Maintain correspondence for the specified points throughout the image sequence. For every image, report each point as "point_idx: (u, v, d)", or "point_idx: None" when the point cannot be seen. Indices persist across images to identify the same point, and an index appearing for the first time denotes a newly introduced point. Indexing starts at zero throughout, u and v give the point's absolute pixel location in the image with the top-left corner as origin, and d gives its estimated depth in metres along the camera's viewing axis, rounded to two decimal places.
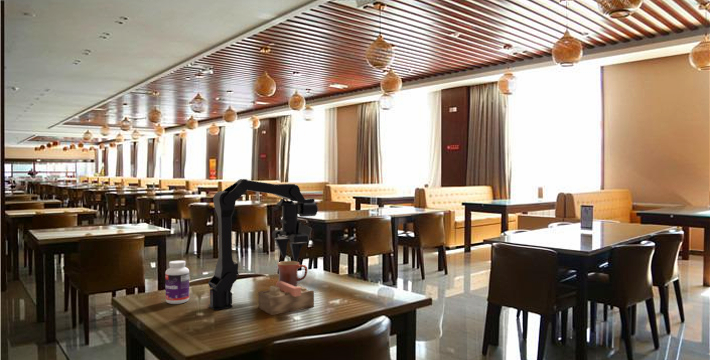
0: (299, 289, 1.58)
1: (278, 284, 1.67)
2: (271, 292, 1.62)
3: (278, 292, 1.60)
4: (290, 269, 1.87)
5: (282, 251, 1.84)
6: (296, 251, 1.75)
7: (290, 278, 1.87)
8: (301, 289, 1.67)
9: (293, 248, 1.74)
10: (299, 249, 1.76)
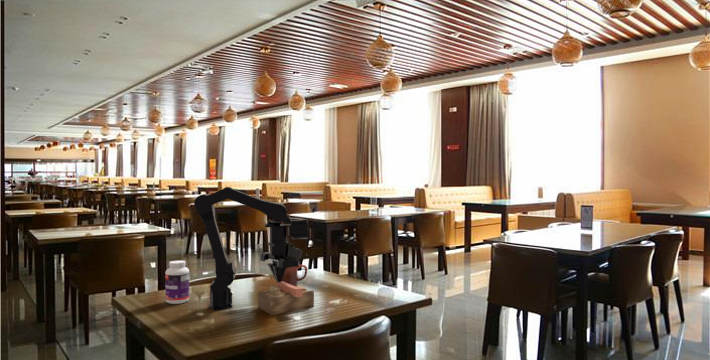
0: (301, 290, 1.57)
1: (279, 285, 1.66)
2: (271, 292, 1.62)
3: (278, 292, 1.60)
4: (290, 269, 1.87)
5: None
6: (279, 274, 1.67)
7: (290, 278, 1.87)
8: None
9: (276, 271, 1.66)
10: (283, 272, 1.68)
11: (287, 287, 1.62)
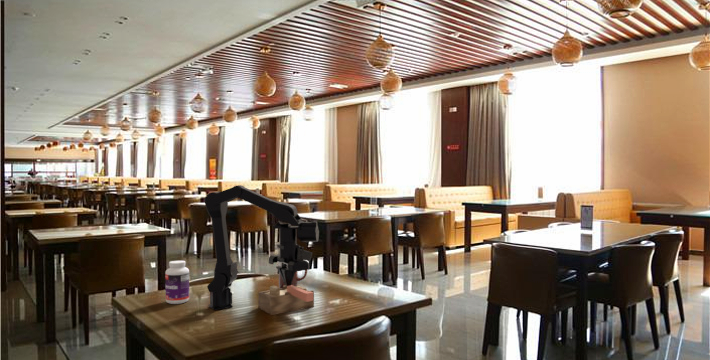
0: (311, 294, 1.52)
1: (289, 288, 1.61)
2: (271, 292, 1.62)
3: (278, 292, 1.60)
4: None
5: None
6: (289, 277, 1.62)
7: None
8: None
9: (285, 274, 1.60)
10: (292, 275, 1.62)
11: (297, 291, 1.56)
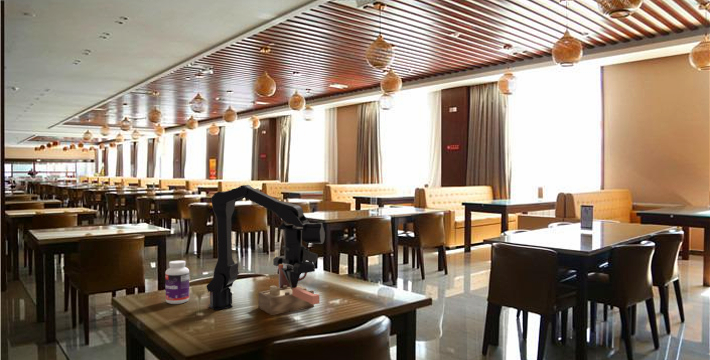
0: (317, 296, 1.48)
1: (294, 291, 1.58)
2: (271, 292, 1.62)
3: (278, 292, 1.60)
4: None
5: None
6: (294, 280, 1.59)
7: None
8: None
9: (291, 277, 1.57)
10: (297, 277, 1.59)
11: (303, 293, 1.53)
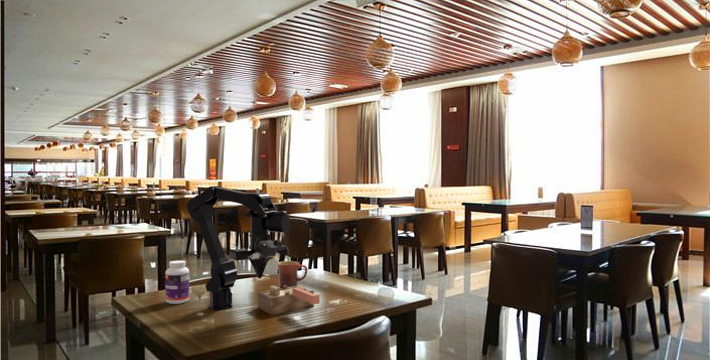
0: (317, 296, 1.48)
1: (294, 291, 1.58)
2: (271, 292, 1.62)
3: (278, 292, 1.60)
4: (290, 269, 1.87)
5: None
6: (255, 267, 1.58)
7: (290, 278, 1.87)
8: None
9: (251, 263, 1.59)
10: (256, 266, 1.57)
11: (303, 293, 1.53)
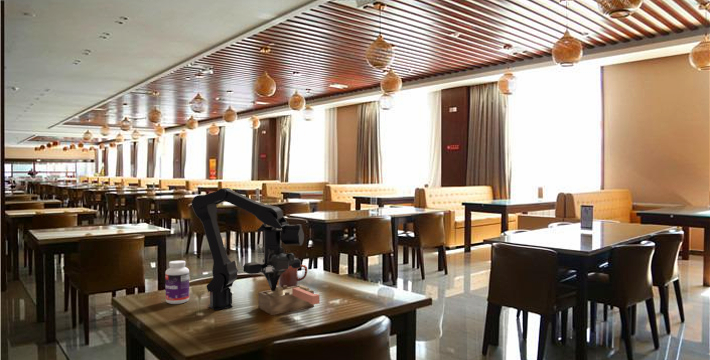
0: (317, 296, 1.48)
1: (294, 291, 1.58)
2: (274, 292, 1.63)
3: (281, 292, 1.61)
4: (290, 269, 1.87)
5: None
6: (268, 280, 1.61)
7: (290, 278, 1.87)
8: (304, 289, 1.67)
9: (265, 276, 1.62)
10: (269, 279, 1.60)
11: (303, 293, 1.53)
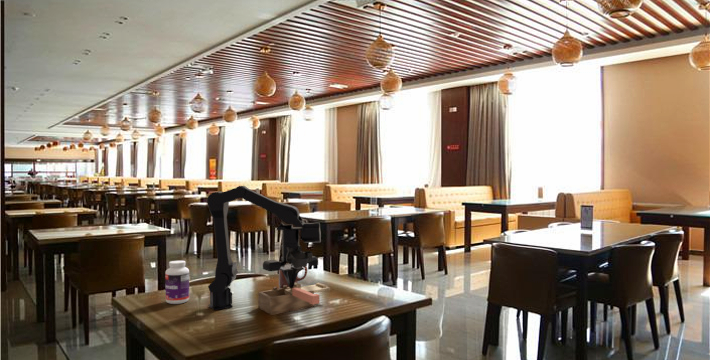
0: (317, 296, 1.48)
1: (294, 291, 1.58)
2: None
3: None
4: None
5: None
6: (287, 277, 1.65)
7: None
8: (321, 286, 1.71)
9: (283, 273, 1.66)
10: (288, 276, 1.64)
11: (303, 293, 1.53)
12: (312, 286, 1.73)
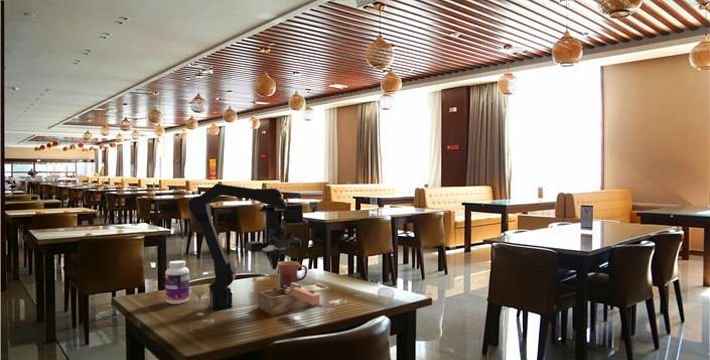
0: (317, 296, 1.48)
1: (294, 291, 1.58)
2: None
3: None
4: (290, 269, 1.87)
5: None
6: (270, 259, 1.67)
7: (290, 278, 1.87)
8: (321, 286, 1.71)
9: (266, 255, 1.68)
10: (270, 257, 1.66)
11: (303, 293, 1.53)
12: (312, 286, 1.73)
